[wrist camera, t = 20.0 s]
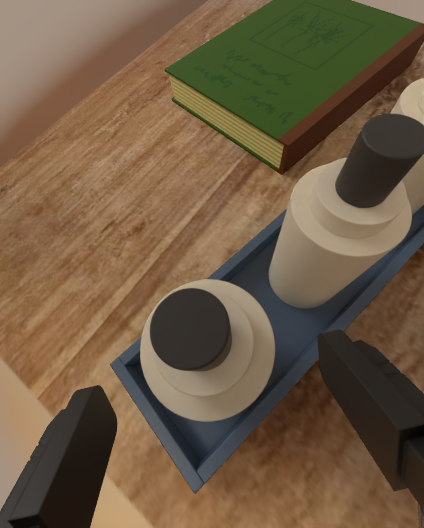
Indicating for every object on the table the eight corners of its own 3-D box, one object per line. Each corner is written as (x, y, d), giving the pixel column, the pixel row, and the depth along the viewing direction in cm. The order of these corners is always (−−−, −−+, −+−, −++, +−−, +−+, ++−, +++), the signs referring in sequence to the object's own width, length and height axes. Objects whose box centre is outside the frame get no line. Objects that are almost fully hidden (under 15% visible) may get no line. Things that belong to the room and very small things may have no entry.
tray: (200, 478, 17) (194, 495, 15) (124, 365, 21) (109, 364, 18) (441, 216, 23) (465, 198, 21) (351, 162, 27) (363, 141, 24)
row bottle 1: (306, 323, 20) (429, 234, 7) (254, 275, 22) (279, 138, 9) (350, 277, 21) (525, 128, 8) (298, 235, 23) (373, 64, 10)
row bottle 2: (378, 247, 22) (578, 71, 9) (325, 210, 24) (427, 21, 11) (416, 209, 23) (639, 4, 10) (362, 176, 25) (493, -30, 12)
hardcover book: (281, 174, 27) (288, 145, 23) (172, 100, 33) (164, 69, 30) (414, 61, 32) (435, 23, 28) (296, 16, 38) (302, -19, 35)
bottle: (218, 415, 18) (171, 522, 5) (170, 354, 20) (51, 321, 7) (272, 359, 19) (344, 332, 6) (222, 306, 21) (199, 204, 8)
